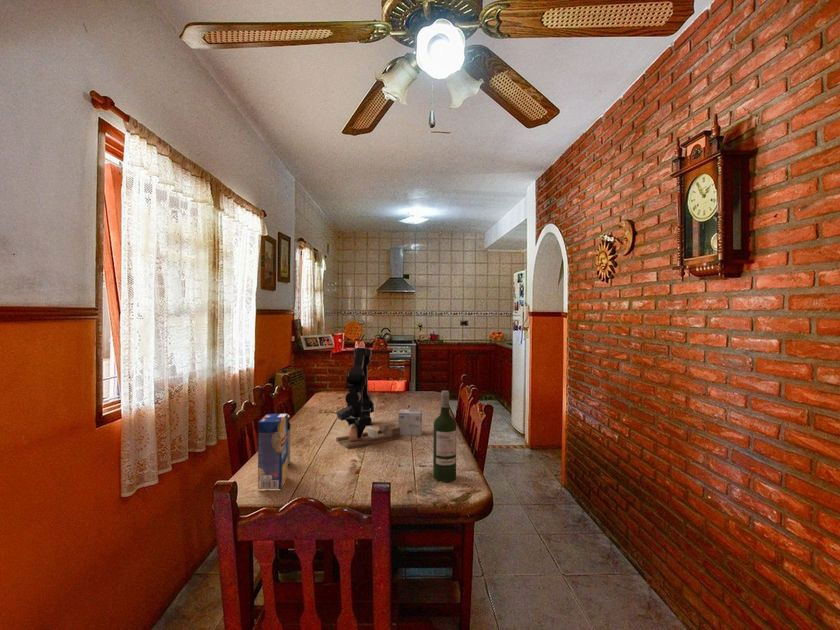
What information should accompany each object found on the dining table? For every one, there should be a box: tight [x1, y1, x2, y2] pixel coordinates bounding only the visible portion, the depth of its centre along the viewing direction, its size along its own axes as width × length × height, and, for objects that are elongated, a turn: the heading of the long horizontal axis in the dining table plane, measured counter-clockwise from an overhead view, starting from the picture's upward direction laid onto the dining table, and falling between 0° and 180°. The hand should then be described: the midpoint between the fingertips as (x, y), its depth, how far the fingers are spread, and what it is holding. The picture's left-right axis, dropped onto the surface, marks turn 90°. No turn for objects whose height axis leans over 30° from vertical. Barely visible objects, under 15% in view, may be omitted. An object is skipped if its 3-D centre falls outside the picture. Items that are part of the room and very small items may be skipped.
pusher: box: [367, 426, 379, 438], centre depth 189 cm, size 7×1×4 cm, turn 35°
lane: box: [335, 422, 401, 449], centre depth 188 cm, size 11×26×5 cm, turn 125°
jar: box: [348, 424, 362, 441], centre depth 185 cm, size 6×6×6 cm
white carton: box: [397, 408, 423, 437], centre depth 199 cm, size 11×7×11 cm, turn 84°
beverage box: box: [257, 413, 289, 490], centre depth 139 cm, size 7×11×22 cm, turn 6°
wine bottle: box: [432, 390, 457, 483], centre depth 145 cm, size 8×8×30 cm
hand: (355, 436), depth 185 cm, fingers closed on jar, 6 cm apart
